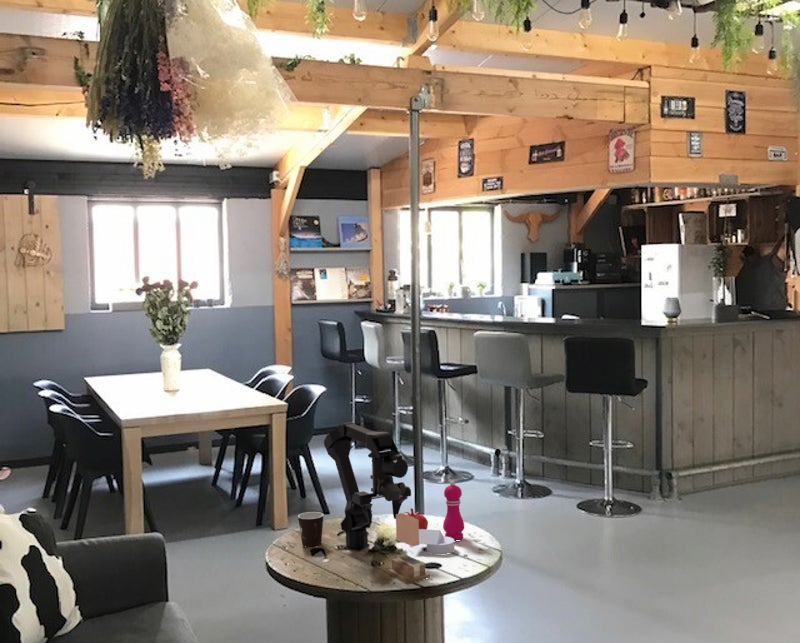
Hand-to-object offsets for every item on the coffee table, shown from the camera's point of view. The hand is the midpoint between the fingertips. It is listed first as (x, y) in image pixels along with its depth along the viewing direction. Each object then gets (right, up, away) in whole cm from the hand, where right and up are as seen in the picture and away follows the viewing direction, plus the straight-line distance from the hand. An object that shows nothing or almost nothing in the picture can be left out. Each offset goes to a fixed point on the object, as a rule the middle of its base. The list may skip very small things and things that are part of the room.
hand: (382, 521), depth 260 cm
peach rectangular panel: (+8, -2, -16) cm, 18 cm away
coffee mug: (-25, -12, +15) cm, 32 cm away
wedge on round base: (+17, -12, +8) cm, 22 cm away
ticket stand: (+8, -13, -16) cm, 22 cm away
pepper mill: (+24, -11, +18) cm, 32 cm away
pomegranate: (+10, -11, +25) cm, 29 cm away
